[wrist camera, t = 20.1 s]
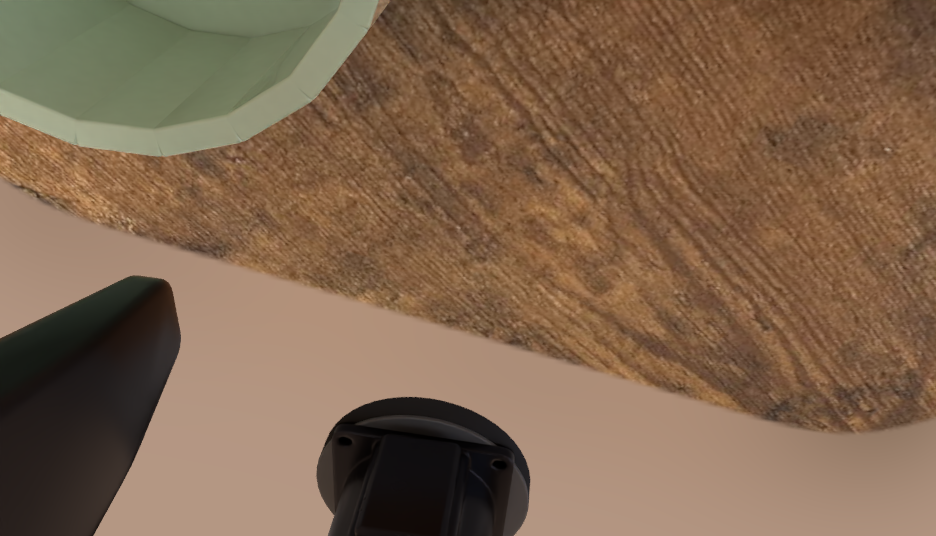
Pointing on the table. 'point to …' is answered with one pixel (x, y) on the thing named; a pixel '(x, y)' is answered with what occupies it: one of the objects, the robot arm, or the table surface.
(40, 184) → the table surface
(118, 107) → the bowl
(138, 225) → the table surface
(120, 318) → the robot arm
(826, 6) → the table surface
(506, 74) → the table surface
